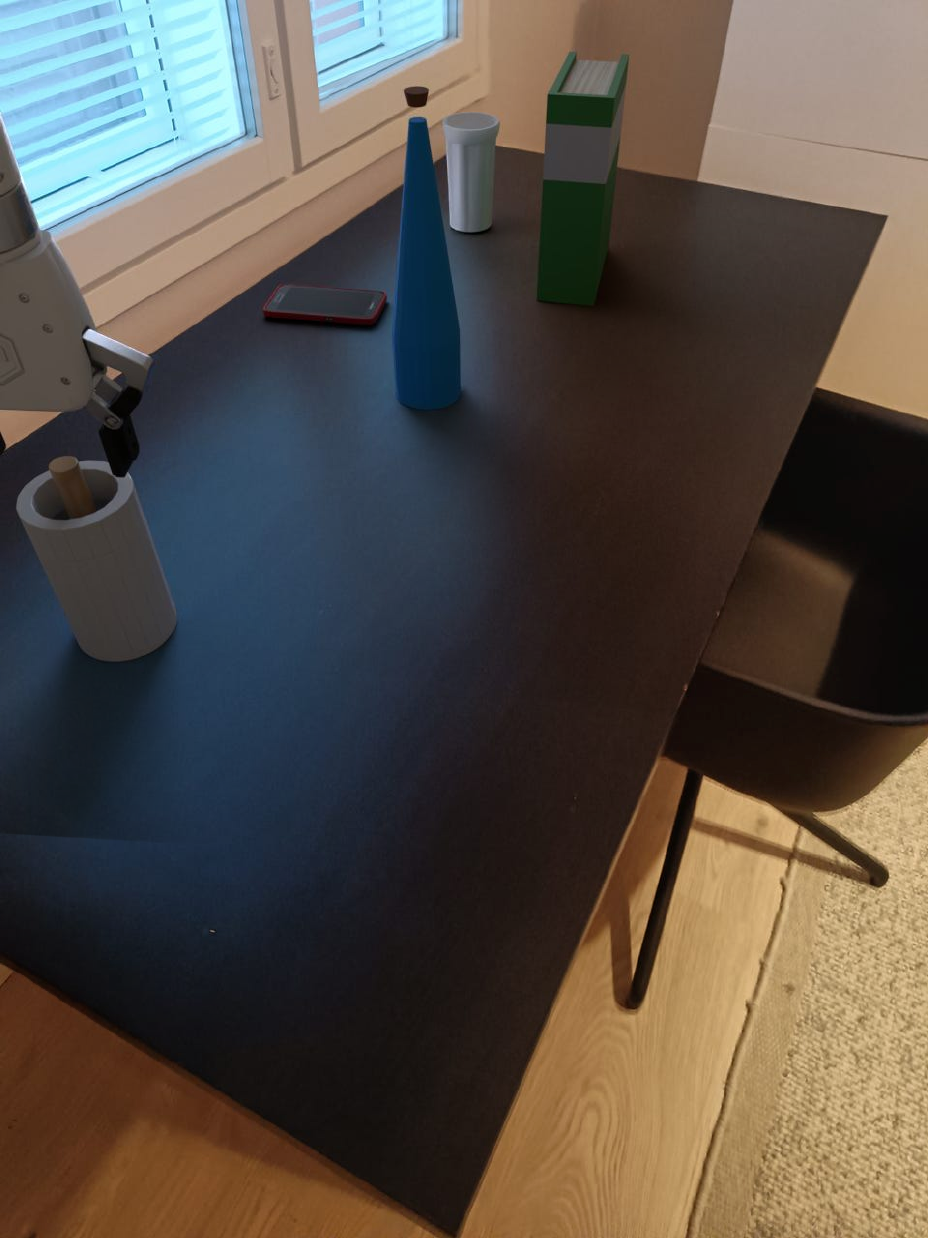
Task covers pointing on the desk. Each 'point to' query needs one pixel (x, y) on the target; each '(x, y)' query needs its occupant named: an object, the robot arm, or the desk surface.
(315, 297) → the cell phone
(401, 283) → the bottle
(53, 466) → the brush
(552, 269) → the hardback book
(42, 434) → the desk surface
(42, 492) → the grey hollow tube
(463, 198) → the cup
